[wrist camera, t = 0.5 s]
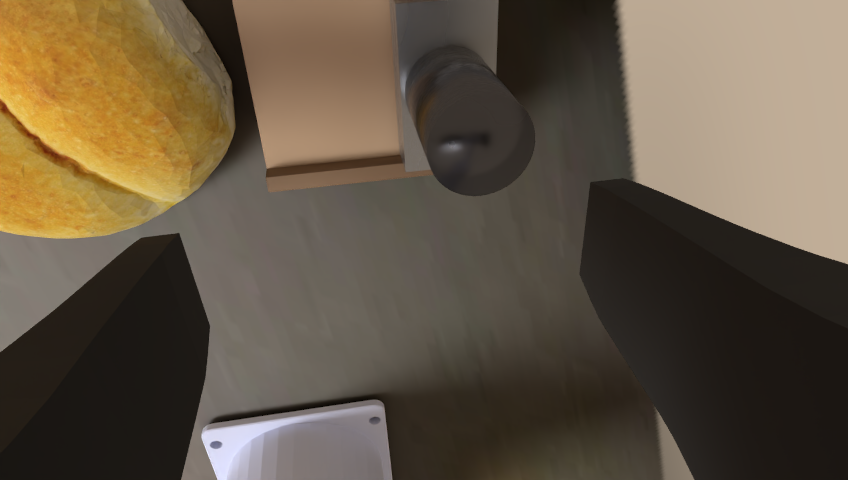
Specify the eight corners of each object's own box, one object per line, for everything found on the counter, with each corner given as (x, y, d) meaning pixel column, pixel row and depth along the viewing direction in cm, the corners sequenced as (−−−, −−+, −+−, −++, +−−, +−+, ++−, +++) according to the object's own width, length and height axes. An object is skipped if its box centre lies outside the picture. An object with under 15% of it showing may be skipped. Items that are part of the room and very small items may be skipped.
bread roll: (-173, 39, 16) (-301, 87, 13) (98, -131, 15) (36, -127, 11) (61, 252, 20) (12, 329, 17) (282, 135, 19) (275, 192, 16)
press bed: (468, 145, 20) (482, 172, 19) (273, 165, 20) (269, 195, 18) (469, -60, 17) (487, -50, 15) (231, -46, 16) (221, -33, 14)
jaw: (481, 142, 18) (532, 229, 14) (399, 150, 18) (426, 242, 14) (484, -15, 16) (548, 33, 12) (388, -8, 16) (417, 44, 11)
